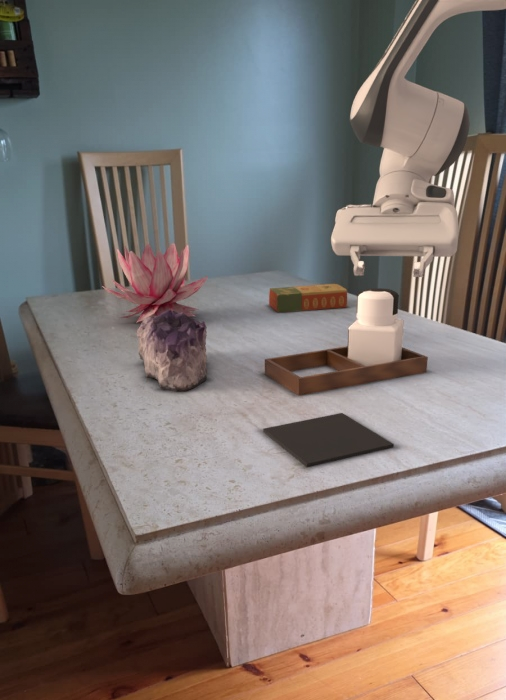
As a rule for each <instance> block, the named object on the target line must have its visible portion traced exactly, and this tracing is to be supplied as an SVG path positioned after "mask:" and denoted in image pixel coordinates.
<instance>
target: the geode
mask: <svg viewBox="0 0 506 700" xmlns="http://www.w3.org/2000/svg"><path fill="white" fill-rule="evenodd" d="M207 328H208V327H207V325H206V323H205V321H199V320H198V319H195V318H192V317H188V316H187V315H186V314H185V313H184V312H182V313H179V314H178V313H177V312H176V311H171V310H168V311H165V312H163V313H161V314H160V315H158V316H156V317H151V316H150V317H146V318H144V320H143V321H141V322H140V325H139V327H138V329H137V330H136V338H137V340H138V355H139V358H140V360H141V361H143V364H144V365H143V366H144V367H143V368H144V371H145V372H144V374H145V378H149V379H156V381H158V385H159V388H160V390H162V391H168V392H176V393H177V392H187V391H191V390H192V389H194V388H196V387H198V386H200V385H201V384H202V383H204V382H205V381H206V380H207V376H208V375H207V372H208V370H207V362H208V359H207V358H208V356H207V346H206V345H207V336H208V335H207V334H208V333H207V332H208V331H207Z"/></svg>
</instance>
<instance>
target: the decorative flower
mask: <svg viewBox="0 0 506 700" xmlns="http://www.w3.org/2000/svg"><path fill="white" fill-rule="evenodd" d="M116 251H117V257H118V262H119V264H120V268H121V269H122V272H123V273H124V275H125V277H126V279H127V280H128V282H129V284H130V286H131V287H132V289H133V290H134V291H133V290H132V289H129V288H126V287H125V286H123V285H122V284H120V283H118V282H117V281H116V280H115V279H113V278H111V281H112V282H113V284H114V285H115V287H116V288H117V289H119V290H120V291H122V292H123V293H121V292H119V291H115V290H113V289H111V288H108V287H106V286H103V285H101V287H102V288H103V289H104V290H105V291H106V292H107V293H109V294H111V295H113V296H115V297H117V298H118V299H122V300H125V301H128V302H129V303H132V304H135V305H137V306H136V307H134V308H132V309H130V310H125V312H127V313H130V314H129V315H125V316H122V317H119V319H127V318H130V317H134V316H136V315H138V314H140V313H141V314H140V316H139V317H138V319H137V320H136V322H135V324H137V323H142V321H143V320H144V318H146V317H150V316H151V317H156V316H158V315H160V314H161V313H163V312H165V311H168V310H171V311H176V312H177V313H178V314H179V313H182V312H184V313H185V314H186V315H187V316H188V317H190V318H192V317H196V315H195V314H194V313H193V312H196V311H199V308H195V307H191V306H189V305H185V304H180V303H178V302H180V301H183V300H186V299H189V298H190V297H191V296H193V295H194V294H196V293H197V292H199V290H200V289H201V288H202V286H203V285H204V284H205V283H206V282H207V280H208V278H209V275H207V276H205V277H203V278H200V279H198V280H195V281H193V282H190V283H188V284H185V278H186V274H187V271H188V266H189V265H188V264H189V256H190V252H189V251H190V250H189V244H186V245H185V248H184V247H182V248H181V251H180V256H179V254H178V251H177V248H176V243H175V242H171V244H170V245H169V247H168V248H167V249H166V251H165V252H164V254H163V253H162V251H161V250H160V249H158V250H157V251H156V254H155V253H154V251H153V248H152V247H151V244H150V243H148V242H147V243H146V245H145V247H144V249H143V251H142V255H141V258H140V257H139V256H138V255H137V254H135V252H134V251H133V250H130V251H128V248H127V246H126V245H125V246H124V256H125V257H124V256H123V255H122V253H121V251H120V250H119V249H118V248H116Z"/></svg>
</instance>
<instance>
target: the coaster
mask: <svg viewBox="0 0 506 700" xmlns="http://www.w3.org/2000/svg"><path fill="white" fill-rule="evenodd" d="M262 431H263V433H264V434H265V435H267V436H268V437H269V438H270V439H272V440H273V441H274V442H275V443H276V444H277V445H279V446H280V447H281V448H283V450H285V451H287V453H289V454H290V455H291V456H292V457H294V459H296V460H297V461H299V462H300V463H301V464H302V465H304V466H305V468H310V467H315V466H318V465H324V464H327V463H332V462H336V461H340V460H346V459H349V458H353V457H358V456H362V455H367V454H370V453H374V452H379V451H384V450H388V449H393V448H394V446H395V443H393V442H391V441H389V440H388V439H386V438H384V437H383V436H381V435H380V434H378V433H377V432H374V431H373V430H371V429H369V428H368V427H366V426H365V425H363V424H362V423H360V422H359V421H356V420H354V419H353V418H352V417H349V416H348V415H346V414H345V413H343V412H339V413H335V414H330V415H324V416H319V417H315V418H310V419H304V420H299V421H293V422H290V423H284V424H280V425H274V426H269V427H264V428H262Z"/></svg>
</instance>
